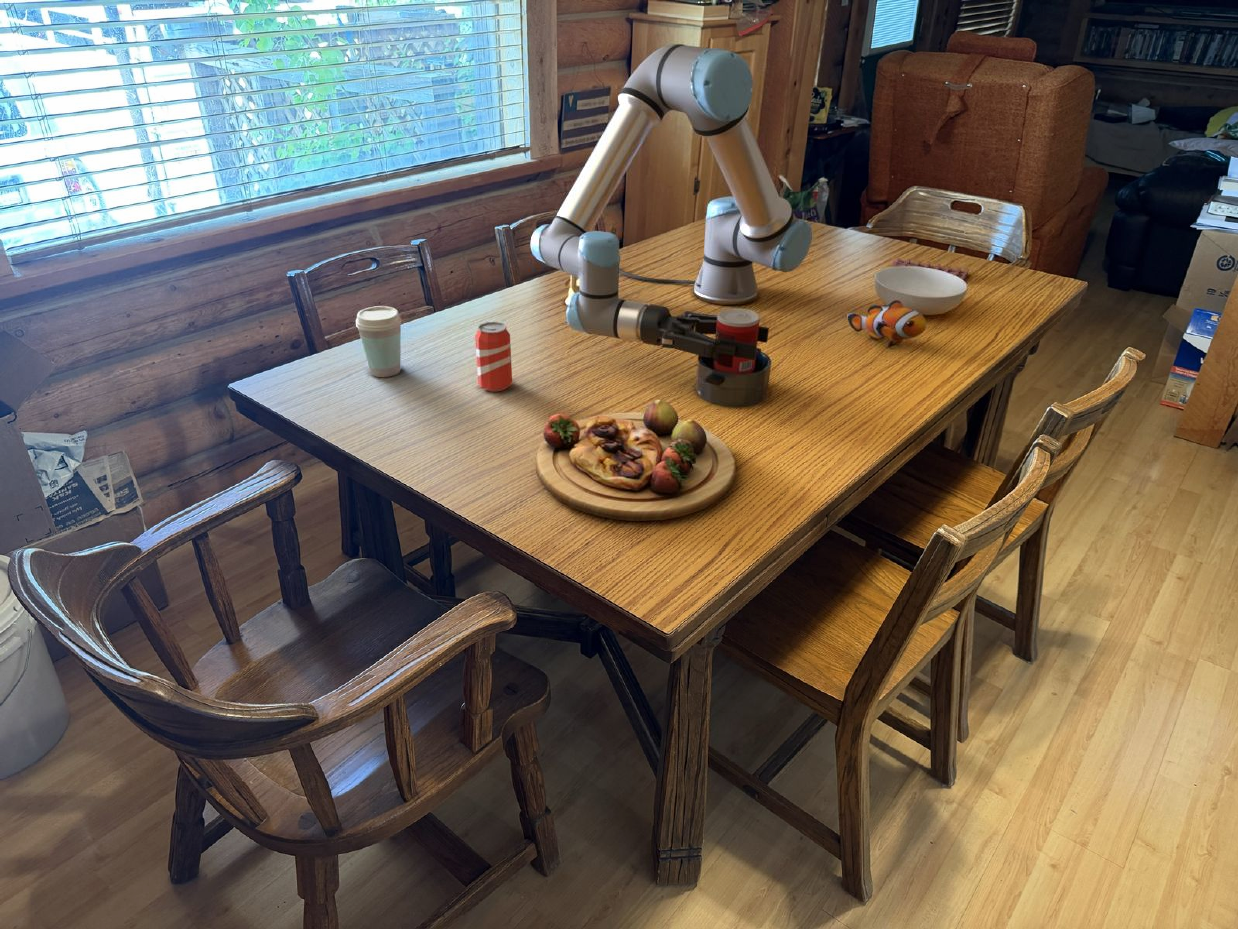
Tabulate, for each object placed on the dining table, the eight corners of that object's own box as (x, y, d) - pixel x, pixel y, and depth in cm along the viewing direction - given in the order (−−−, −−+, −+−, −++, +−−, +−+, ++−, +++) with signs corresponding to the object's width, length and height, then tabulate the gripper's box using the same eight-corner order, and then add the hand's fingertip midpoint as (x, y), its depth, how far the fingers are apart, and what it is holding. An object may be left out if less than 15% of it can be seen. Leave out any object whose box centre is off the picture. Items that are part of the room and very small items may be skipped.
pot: (683, 394, 165) (685, 363, 161) (716, 369, 175) (718, 339, 171) (748, 413, 158) (752, 381, 155) (779, 386, 168) (783, 355, 165)
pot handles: (704, 382, 158) (705, 377, 158) (747, 349, 171) (748, 345, 171) (718, 386, 157) (719, 381, 156) (760, 353, 170) (761, 348, 169)
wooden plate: (494, 484, 136) (491, 438, 132) (604, 406, 160) (604, 365, 156) (675, 551, 122) (678, 501, 118) (766, 455, 146) (771, 410, 141)
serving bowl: (863, 316, 201) (868, 287, 198) (876, 288, 218) (881, 261, 215) (958, 330, 195) (965, 301, 191) (964, 300, 212) (970, 273, 208)
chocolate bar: (894, 263, 236) (895, 256, 235) (967, 275, 228) (969, 268, 227) (887, 270, 230) (889, 263, 229) (962, 283, 223) (963, 275, 222)
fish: (911, 358, 179) (915, 310, 175) (833, 342, 191) (835, 297, 187) (934, 345, 185) (939, 299, 181) (858, 331, 197) (860, 287, 193)
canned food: (757, 365, 167) (763, 310, 161) (749, 382, 160) (755, 326, 154) (718, 359, 169) (723, 305, 163) (708, 375, 162) (712, 319, 157)
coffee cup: (416, 367, 173) (410, 309, 167) (389, 383, 166) (381, 324, 160) (381, 358, 176) (373, 302, 170) (353, 375, 169) (344, 316, 163)
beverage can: (490, 376, 170) (487, 318, 164) (518, 383, 167) (515, 324, 161) (472, 388, 165) (467, 329, 159) (500, 396, 163) (497, 335, 157)
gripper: (663, 323, 177) (773, 342, 170) (624, 361, 160) (744, 384, 153) (665, 287, 173) (777, 305, 166) (625, 323, 157) (748, 344, 149)
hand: (761, 343), depth 160 cm, fingers closed on canned food, 8 cm apart
